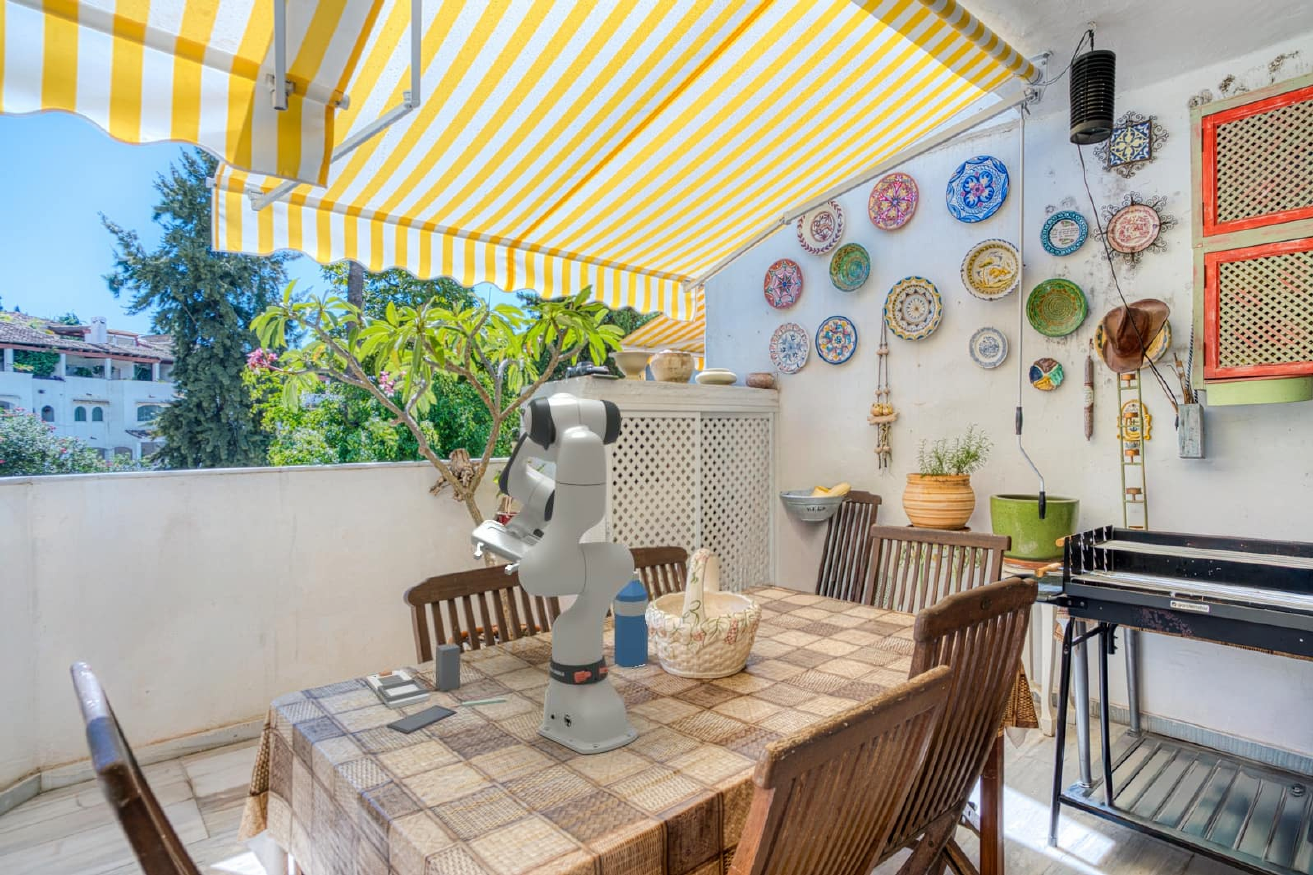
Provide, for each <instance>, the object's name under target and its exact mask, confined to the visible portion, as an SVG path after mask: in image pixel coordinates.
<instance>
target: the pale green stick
mask: <svg viewBox="0 0 1313 875" xmlns="http://www.w3.org/2000/svg"><path fill="white" fill-rule="evenodd" d="M499 703H501V704H502V703H507V697H498V698H489V699H488V698H487V699H481V700H472V701H471V700H470V701H462V704H461V707H463V708H464V707H466V708H467V707H473V706H482V705H483V706H484V705H491V704H499Z"/></svg>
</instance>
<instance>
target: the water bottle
mask: <svg viewBox="0 0 1313 875" xmlns="http://www.w3.org/2000/svg"><path fill="white" fill-rule="evenodd" d="M639 574H640V573H639V571H636V570H634V574H633V577H632V579H631V581H630V582H629V584H628V585H627V586H625V587H624V588H623V589H622V590H621V591H620V592H619V593H618V595H617V596H616V597H615V599H614V644H613V646H614V653H613V654H614V664H615V665H616V664H618V665H619V666H621V667H620V668H625V667H635V666H639V665H643V664H646V665H647V663H648V662H649V625H648V626H647V624H646V620H645V613H646V609H647V606H648V607H649V591H648V590H647V589H646V587H645V585H644V584H643V583H642V582H641V580H640V576H639ZM647 661H648V662H647ZM646 662H647V663H646ZM618 665H617V666H618ZM619 666H618V667H619Z"/></svg>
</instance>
